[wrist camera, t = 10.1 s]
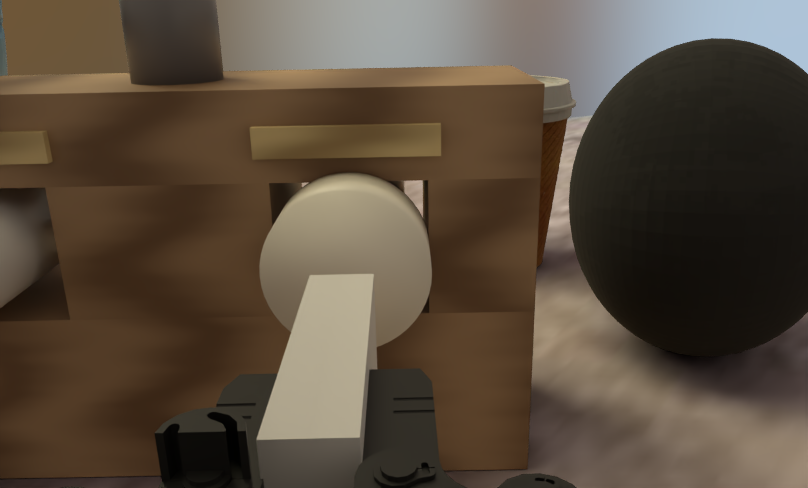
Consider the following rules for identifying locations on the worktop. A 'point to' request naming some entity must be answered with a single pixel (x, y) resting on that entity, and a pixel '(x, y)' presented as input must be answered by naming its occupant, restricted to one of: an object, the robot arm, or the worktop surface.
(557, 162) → the disposable coffee cup
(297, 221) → the knob
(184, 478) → the robot arm
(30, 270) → the knob
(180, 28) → the grey bottle
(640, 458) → the worktop surface
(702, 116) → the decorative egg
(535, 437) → the worktop surface
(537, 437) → the worktop surface
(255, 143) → the mount
